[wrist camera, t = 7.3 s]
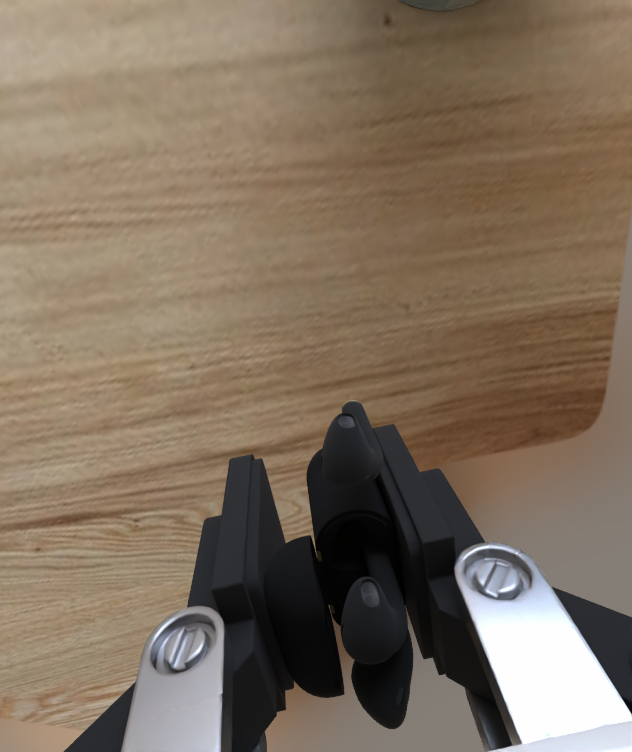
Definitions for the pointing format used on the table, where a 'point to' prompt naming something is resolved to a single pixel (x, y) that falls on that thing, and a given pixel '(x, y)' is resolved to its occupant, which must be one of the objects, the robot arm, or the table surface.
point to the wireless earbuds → (345, 579)
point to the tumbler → (439, 4)
